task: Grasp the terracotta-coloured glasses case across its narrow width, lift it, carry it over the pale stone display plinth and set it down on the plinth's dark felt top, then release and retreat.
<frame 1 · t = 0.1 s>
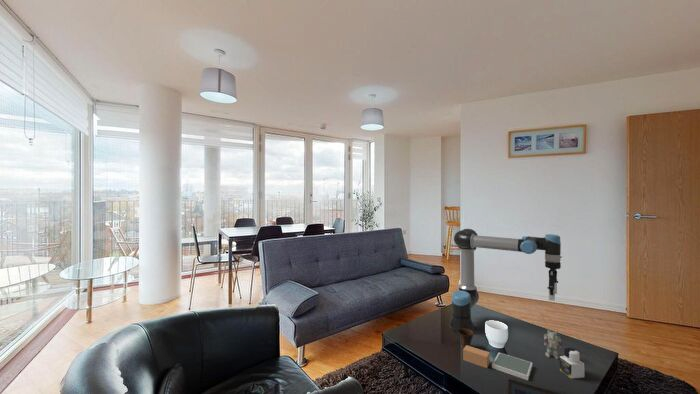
hand: (553, 296, 171), 28 cm above the table, fingers open, 13 cm apart
cup: (465, 347, 170), on the table
medicine bottle: (571, 374, 144), on the table
figurine: (552, 356, 159), on the table
glasses case: (476, 361, 155), on the table
plinth: (512, 367, 150), on the table
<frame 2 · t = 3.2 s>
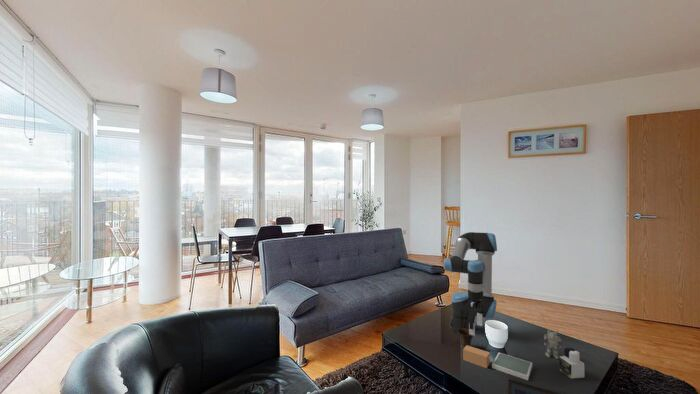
hand: (475, 329, 155), 17 cm above the table, fingers open, 13 cm apart
nothing on the table moved.
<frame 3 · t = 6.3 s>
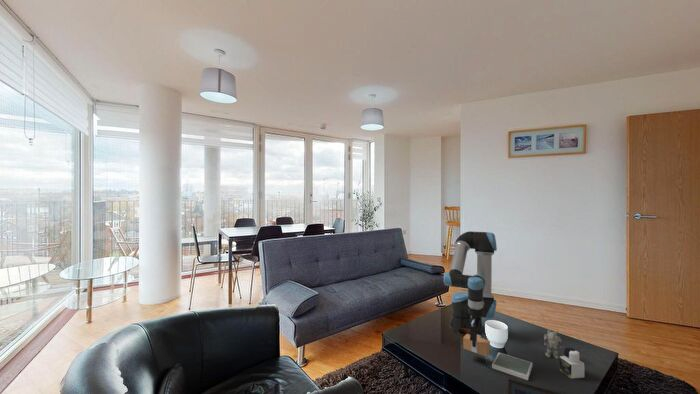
hand: (476, 349, 156), 6 cm above the table, fingers closed on glasses case, 6 cm apart
glasses case: (476, 350, 156), point 6 cm above the table, touching gripper
everything else where it was.
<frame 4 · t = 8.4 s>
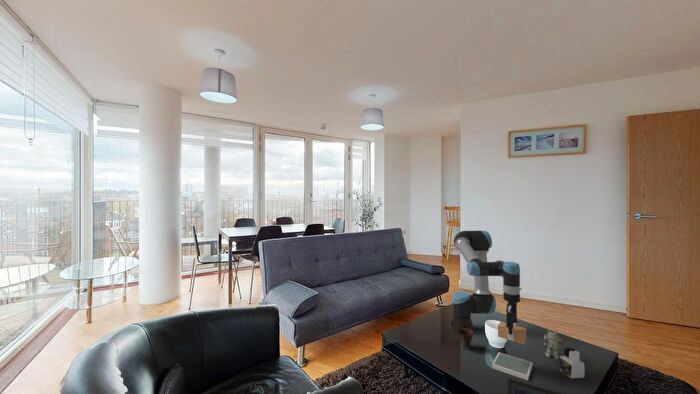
hand: (512, 337, 149), 16 cm above the table, fingers closed on glasses case, 6 cm apart
glasses case: (512, 338, 149), point 15 cm above the table, touching gripper
everything else where it was.
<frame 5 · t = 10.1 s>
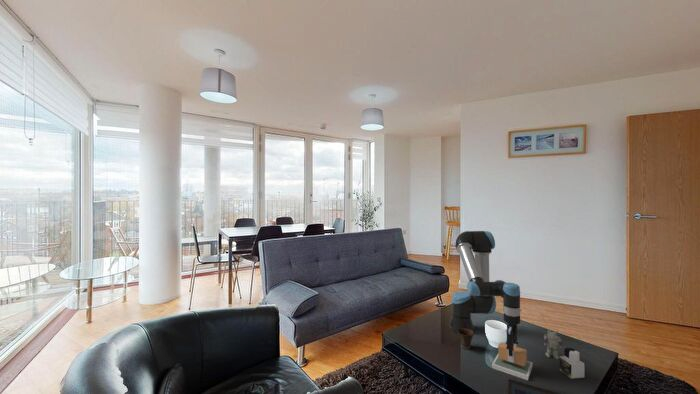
hand: (512, 358, 150), 5 cm above the table, fingers closed on glasses case, 6 cm apart
glasses case: (512, 359, 150), point 4 cm above the table, touching gripper
everything else where it was.
when the fingers open (3 cm above the table, at t = 10.9 s): glasses case stays where it is, resting on plinth.
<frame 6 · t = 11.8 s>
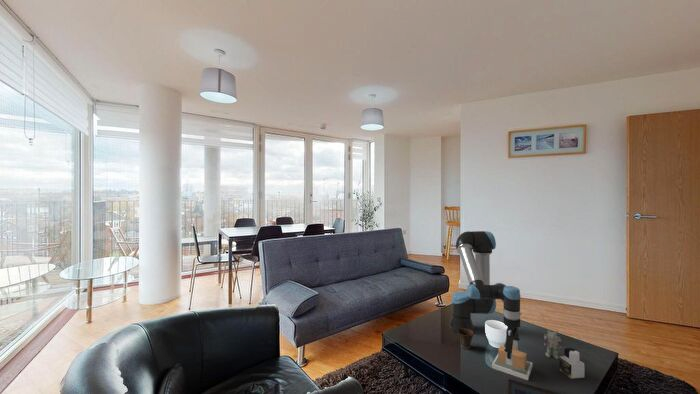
hand: (512, 358, 150), 5 cm above the table, fingers open, 13 cm apart
glasses case: (512, 363, 150), point 2 cm above the table, touching plinth
everything else where it was.
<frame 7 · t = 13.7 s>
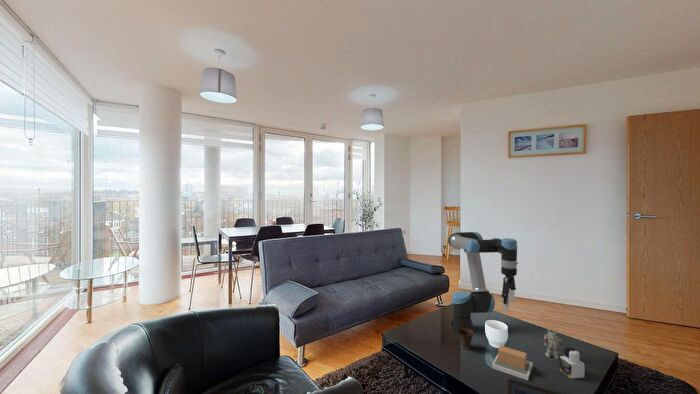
hand: (508, 305, 160), 28 cm above the table, fingers open, 13 cm apart
nothing on the table moved.
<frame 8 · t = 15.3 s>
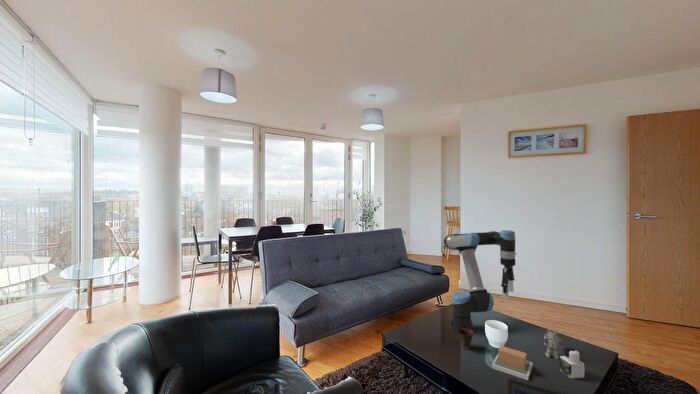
hand: (508, 294, 166), 32 cm above the table, fingers open, 13 cm apart
nothing on the table moved.
at the end: glasses case inside the target area on the plinth (0.0 cm from its centre), point 2.2 cm above the plinth's base; glasses case tilted 0°; the gripper is holding nothing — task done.
